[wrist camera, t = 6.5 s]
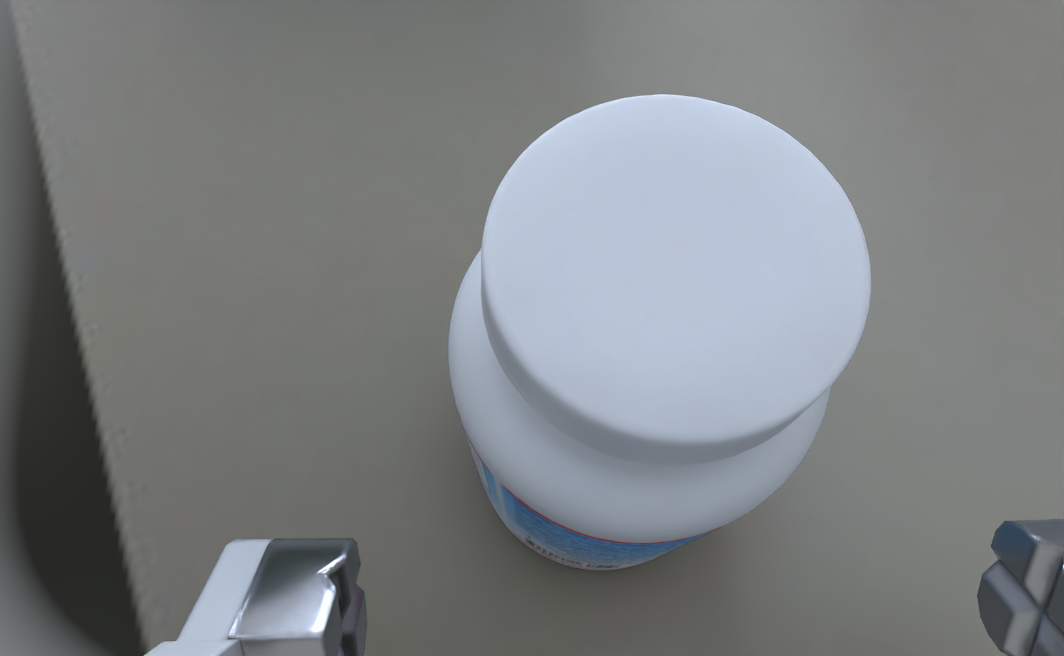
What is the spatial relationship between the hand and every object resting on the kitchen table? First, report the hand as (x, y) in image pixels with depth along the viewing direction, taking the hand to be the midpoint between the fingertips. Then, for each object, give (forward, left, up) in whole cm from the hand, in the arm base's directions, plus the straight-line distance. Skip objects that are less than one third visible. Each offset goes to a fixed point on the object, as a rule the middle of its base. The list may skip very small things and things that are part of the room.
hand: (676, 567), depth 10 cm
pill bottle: (0, +3, -9) cm, 10 cm away
